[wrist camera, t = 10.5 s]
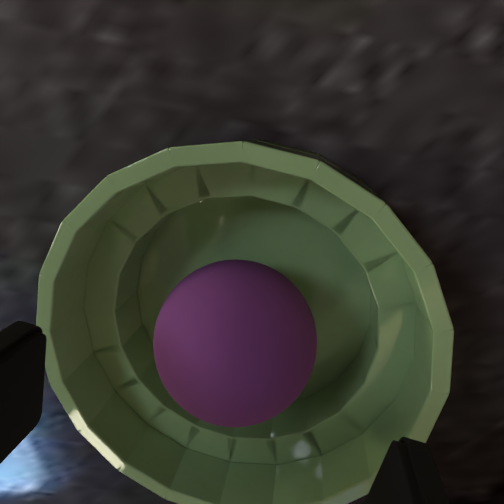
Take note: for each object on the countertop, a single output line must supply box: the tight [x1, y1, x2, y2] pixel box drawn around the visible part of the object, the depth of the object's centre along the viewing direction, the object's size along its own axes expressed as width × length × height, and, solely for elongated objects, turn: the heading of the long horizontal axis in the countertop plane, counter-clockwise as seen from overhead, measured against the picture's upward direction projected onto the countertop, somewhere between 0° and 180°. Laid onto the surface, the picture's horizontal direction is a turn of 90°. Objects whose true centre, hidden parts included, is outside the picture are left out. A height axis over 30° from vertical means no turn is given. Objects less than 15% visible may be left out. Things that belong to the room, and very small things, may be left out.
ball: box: [153, 259, 317, 427], centre depth 15 cm, size 6×6×6 cm
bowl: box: [36, 139, 454, 504], centre depth 16 cm, size 14×14×5 cm
